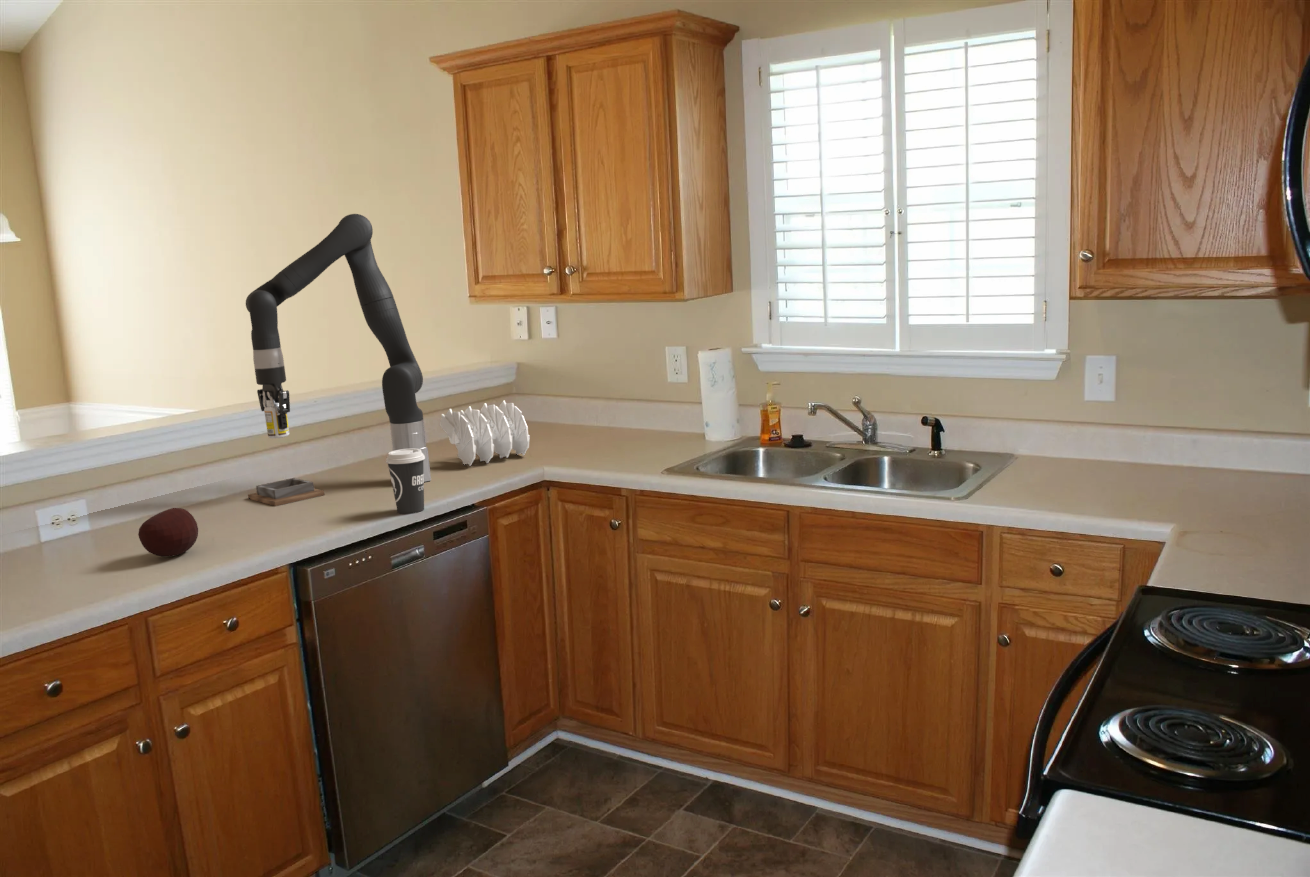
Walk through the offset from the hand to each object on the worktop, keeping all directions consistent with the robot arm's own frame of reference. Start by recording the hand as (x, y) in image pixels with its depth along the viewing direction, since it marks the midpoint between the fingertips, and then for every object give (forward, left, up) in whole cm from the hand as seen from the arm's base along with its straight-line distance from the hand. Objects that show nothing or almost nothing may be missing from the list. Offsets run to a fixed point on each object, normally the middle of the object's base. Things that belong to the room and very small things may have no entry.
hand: (277, 427), depth 279 cm
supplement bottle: (0, 0, -3) cm, 3 cm away
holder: (0, 0, -19) cm, 19 cm away
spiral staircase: (-13, -60, -19) cm, 64 cm away
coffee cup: (-46, -10, -19) cm, 51 cm away
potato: (-33, +43, -19) cm, 58 cm away
